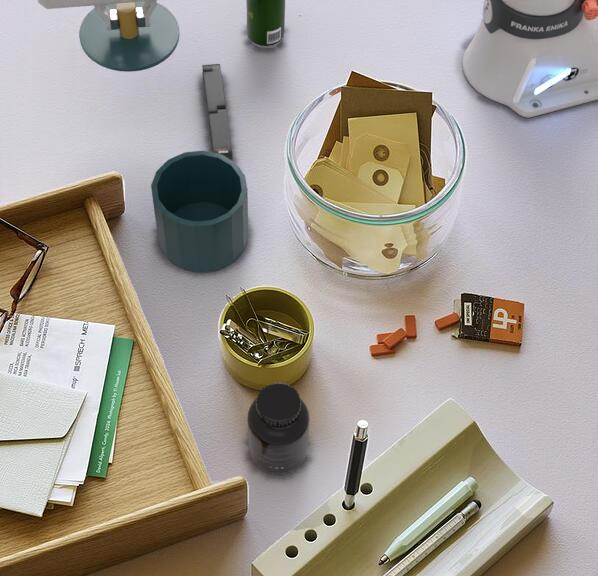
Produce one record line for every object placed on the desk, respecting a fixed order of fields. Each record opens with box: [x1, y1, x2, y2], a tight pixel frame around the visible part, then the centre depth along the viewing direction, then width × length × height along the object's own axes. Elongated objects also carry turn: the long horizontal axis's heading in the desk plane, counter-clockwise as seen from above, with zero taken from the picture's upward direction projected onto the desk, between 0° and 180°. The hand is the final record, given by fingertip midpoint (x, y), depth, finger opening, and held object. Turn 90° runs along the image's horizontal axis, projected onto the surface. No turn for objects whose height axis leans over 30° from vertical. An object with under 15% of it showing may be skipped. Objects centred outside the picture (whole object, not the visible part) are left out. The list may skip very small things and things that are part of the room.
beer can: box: [245, 0, 286, 49], centre depth 145 cm, size 5×5×12 cm
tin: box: [150, 150, 249, 273], centre depth 130 cm, size 11×11×10 cm
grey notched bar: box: [201, 63, 234, 162], centre depth 142 cm, size 18×3×3 cm, turn 8°
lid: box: [78, 1, 180, 73], centre depth 129 cm, size 12×12×5 cm
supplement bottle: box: [246, 381, 310, 475], centre depth 116 cm, size 7×7×12 cm
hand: (128, 25), depth 130 cm, fingers closed on lid, 2 cm apart
